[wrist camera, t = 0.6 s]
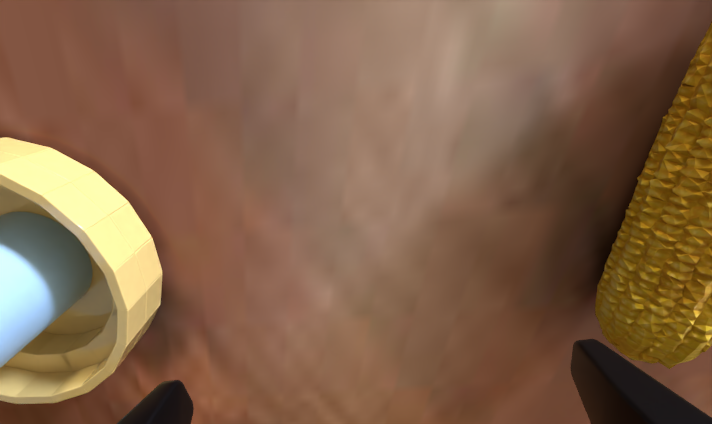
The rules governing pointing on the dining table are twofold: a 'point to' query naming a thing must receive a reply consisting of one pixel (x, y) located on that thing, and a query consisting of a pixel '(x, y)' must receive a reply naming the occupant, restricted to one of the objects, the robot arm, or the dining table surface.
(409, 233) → the dining table surface
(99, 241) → the bowl
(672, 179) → the food
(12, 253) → the baby bottle
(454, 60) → the dining table surface
